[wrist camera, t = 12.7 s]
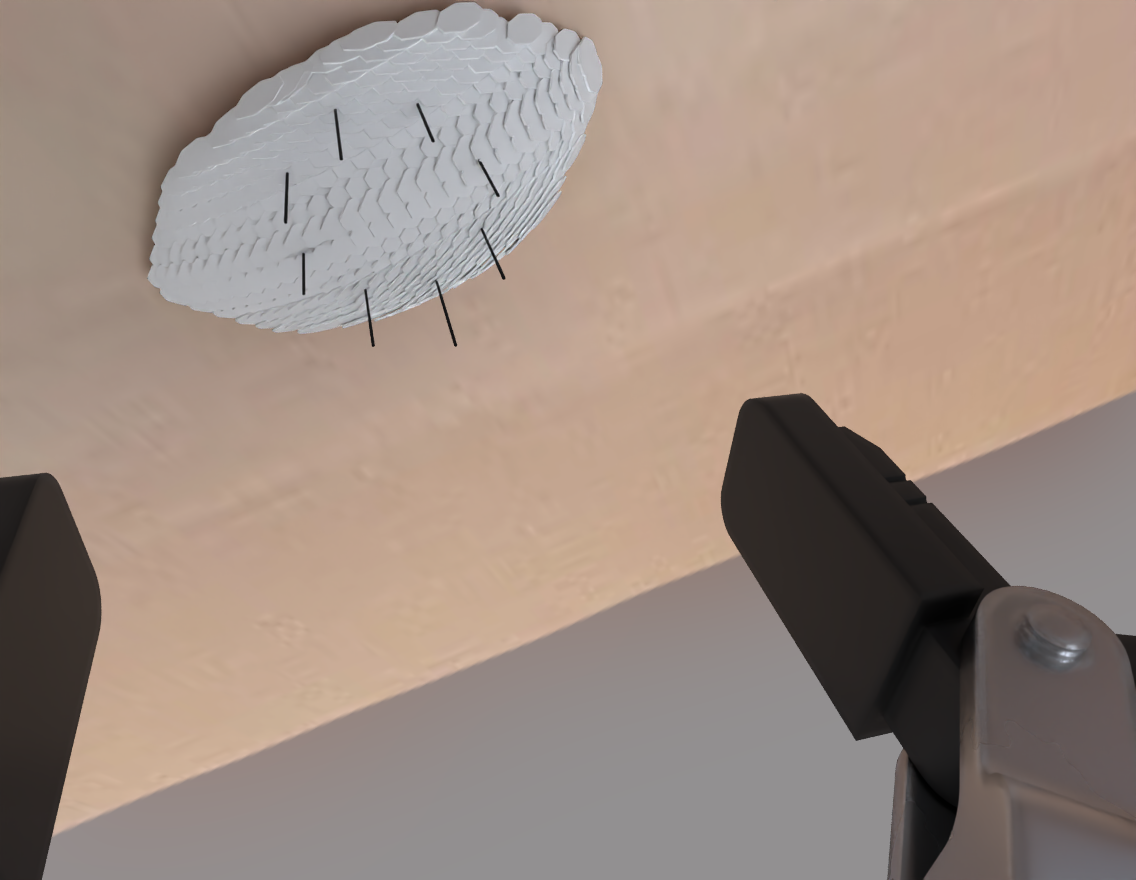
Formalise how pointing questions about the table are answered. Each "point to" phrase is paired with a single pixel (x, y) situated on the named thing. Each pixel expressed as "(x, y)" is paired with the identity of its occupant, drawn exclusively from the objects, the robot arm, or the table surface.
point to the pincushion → (376, 171)
